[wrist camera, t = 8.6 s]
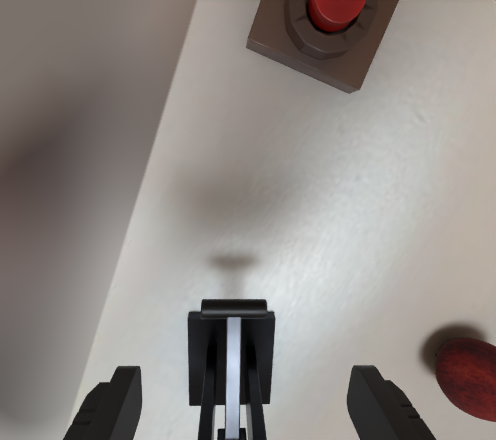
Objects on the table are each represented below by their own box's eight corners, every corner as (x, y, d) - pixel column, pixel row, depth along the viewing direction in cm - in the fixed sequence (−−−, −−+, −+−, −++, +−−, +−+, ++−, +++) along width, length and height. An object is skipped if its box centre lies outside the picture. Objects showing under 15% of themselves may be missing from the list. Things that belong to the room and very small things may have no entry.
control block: (246, 47, 25) (248, 30, 21) (281, -57, 24) (292, -96, 20) (349, 94, 27) (369, 86, 23) (390, -1, 25) (420, -27, 21)
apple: (471, 380, 36) (537, 445, 28) (410, 377, 35) (460, 443, 28) (489, 326, 34) (566, 380, 26) (426, 322, 34) (485, 376, 26)
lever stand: (189, 311, 31) (163, 422, 19) (273, 311, 32) (302, 418, 20) (190, 397, 34) (168, 542, 22) (268, 395, 35) (290, 535, 22)
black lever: (203, 296, 24) (200, 302, 22) (264, 296, 25) (268, 302, 22) (199, 465, 23) (196, 491, 21) (262, 463, 24) (266, 488, 21)
